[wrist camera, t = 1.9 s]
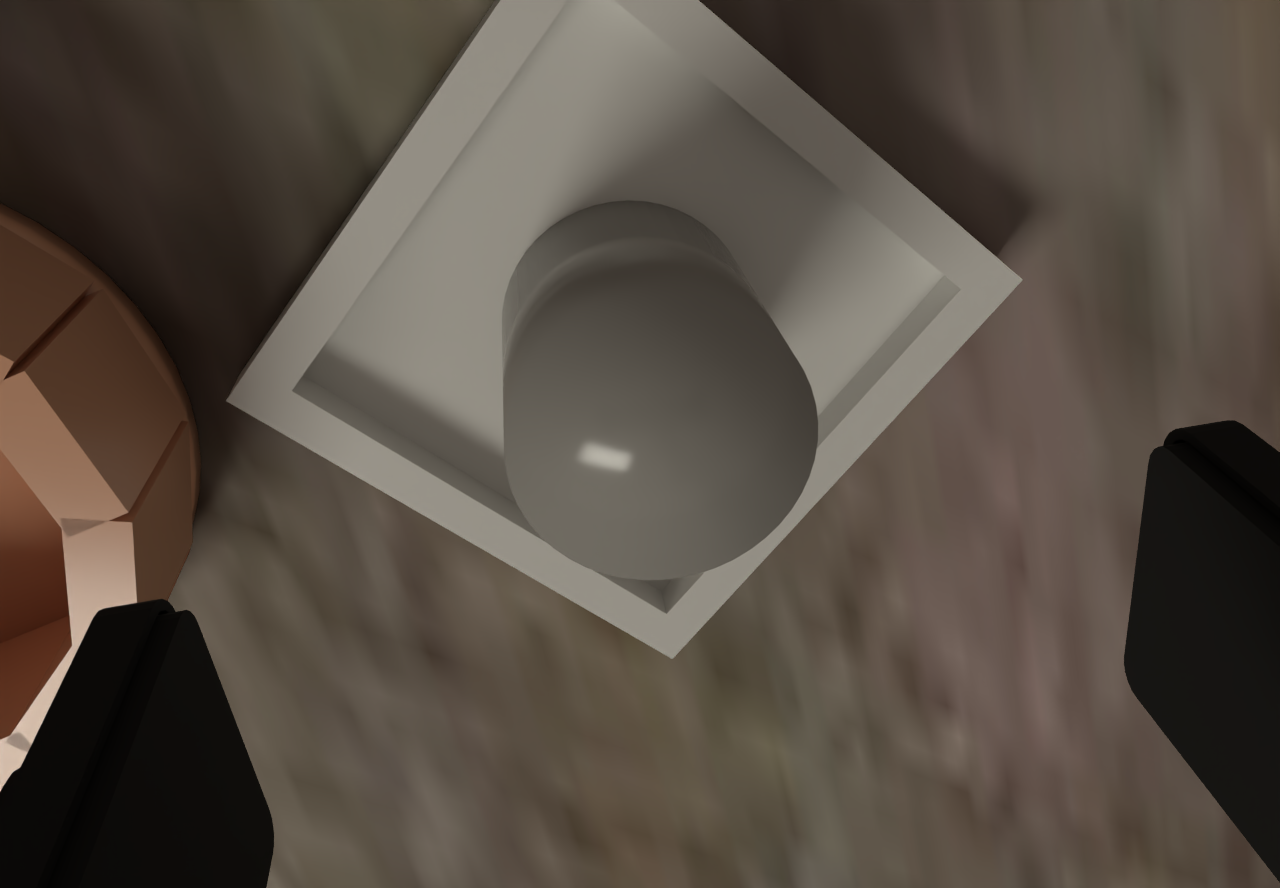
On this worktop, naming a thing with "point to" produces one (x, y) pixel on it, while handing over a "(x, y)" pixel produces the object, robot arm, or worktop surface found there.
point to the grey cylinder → (648, 396)
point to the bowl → (79, 466)
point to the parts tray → (577, 179)
